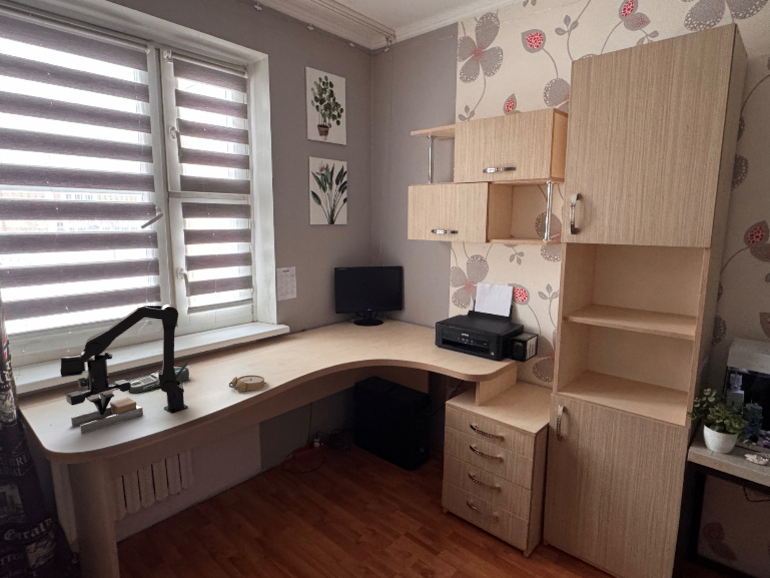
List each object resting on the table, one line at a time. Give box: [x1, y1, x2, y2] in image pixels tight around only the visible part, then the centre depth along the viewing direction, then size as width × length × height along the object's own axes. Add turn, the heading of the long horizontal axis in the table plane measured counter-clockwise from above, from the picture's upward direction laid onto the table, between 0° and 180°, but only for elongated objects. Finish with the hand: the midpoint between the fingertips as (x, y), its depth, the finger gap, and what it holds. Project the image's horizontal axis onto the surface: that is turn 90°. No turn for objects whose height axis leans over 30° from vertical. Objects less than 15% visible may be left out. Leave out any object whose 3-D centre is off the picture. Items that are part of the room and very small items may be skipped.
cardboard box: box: [109, 396, 138, 416], centre depth 166 cm, size 7×6×5 cm
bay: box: [70, 404, 144, 435], centre depth 162 cm, size 10×20×3 cm, turn 140°
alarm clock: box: [228, 374, 268, 393], centre depth 193 cm, size 11×5×15 cm
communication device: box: [128, 361, 190, 394], centre depth 196 cm, size 12×24×9 cm, turn 138°
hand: (102, 414), depth 160 cm, fingers closed
